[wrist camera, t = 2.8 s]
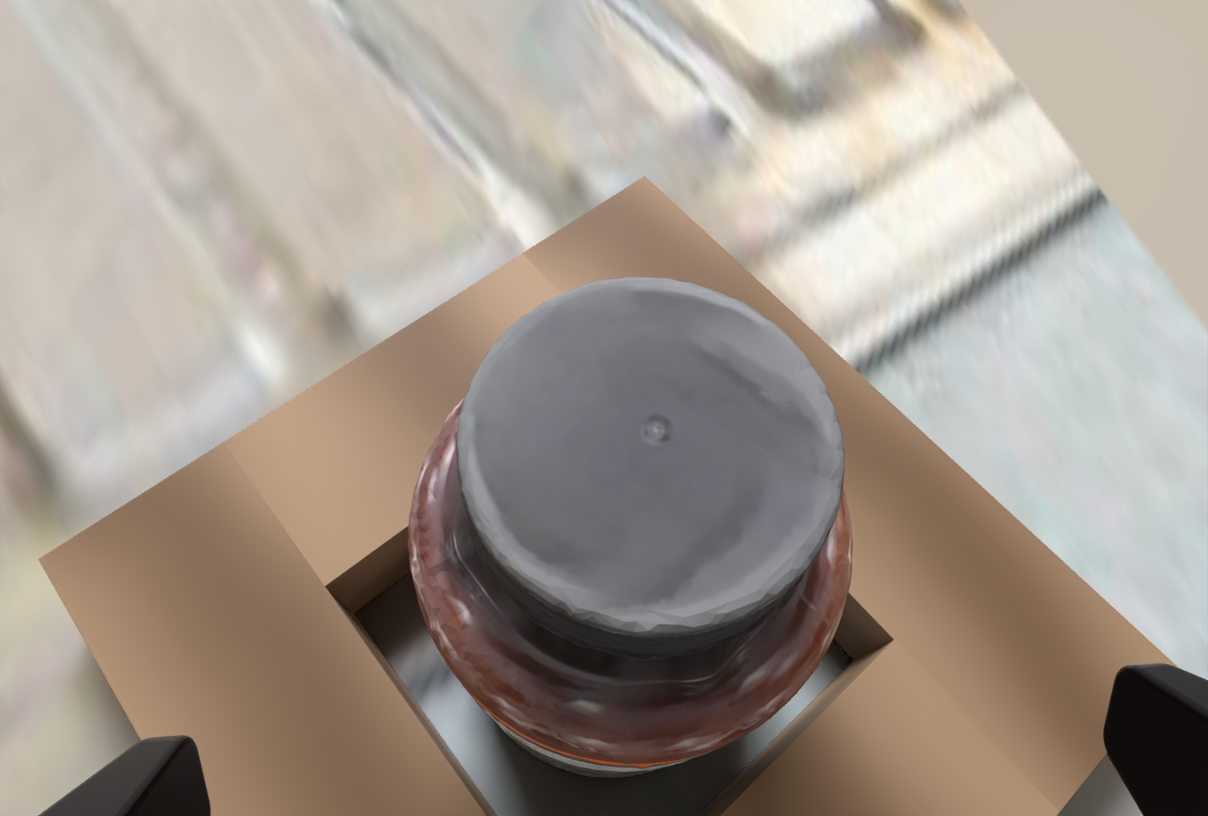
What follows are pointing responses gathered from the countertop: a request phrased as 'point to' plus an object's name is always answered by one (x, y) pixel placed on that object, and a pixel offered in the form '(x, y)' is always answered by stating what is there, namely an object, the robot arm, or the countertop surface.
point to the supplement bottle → (634, 526)
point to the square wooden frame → (381, 557)
